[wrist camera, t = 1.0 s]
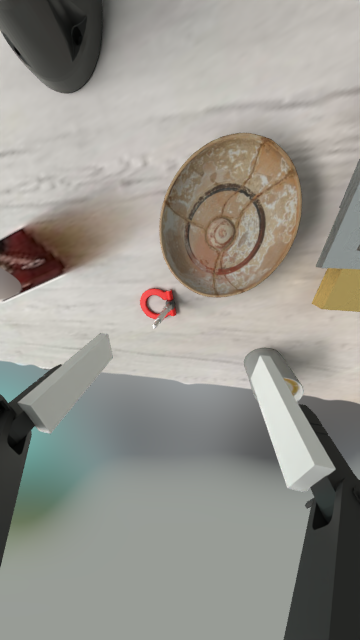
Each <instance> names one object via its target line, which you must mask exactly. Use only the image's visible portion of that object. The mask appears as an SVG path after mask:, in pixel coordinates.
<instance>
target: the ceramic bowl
mask: <svg viewBox="0 0 360 640" xmlns="http://www.w3.org/2000/svg"><path fill="white" fill-rule="evenodd" d="M301 209H302V194H301V186H300V181H299V177H298V174H297V171H296V168H295V166H294V164H293V162H292V160H291V159H290V157H289V156H288V155H287V153H286V152H285V151H284V150H283V149H282V148H281V147H280V146H279V145H278V144H276V143H275V142H274V141H273V140H271V139H269V138H266V137H263V136H260V135H256V134H252V133H236V134H231V135H227V136H223V137H221V138H218V139H216V140H213V141H211V142H210V143H208V144H206V145H205V146H203V147H202V148H200V149H199V150H198V151H196V152H195V153H194V154H193V155H192V156H191V157H190V158H189V159H188V160H187V161H186V162H185V163H184V164H183V165H182V167H181V168H180V169H179V171H178V172H177V174H176V175H175V177H174V179H173V181H172V182H171V184H170V186H169V188H168V190H167V193H166V195H165V198H164V202H163V205H162V210H161V215H160V225H159V233H160V244H161V249H162V253H163V256H164V259H165V261H166V263H167V265H168V267H169V269H170V271H171V272H172V274H173V275H174V276H175V277H176V279H177V280H178V281H179V282H180V283H182V284H183V285H184V286H185V287H187V288H188V289H190V290H192V291H193V292H195V293H197V294H200V295H203V296H207V297H227V296H232V295H237V294H240V293H243V292H245V291H248V290H250V289H252V288H253V287H255V286H257V285H258V284H260V283H261V282H262V281H264V280H265V279H266V278H267V277H268V276H270V274H271V273H273V271H274V270H275V269H276V268H277V267H278V266H279V265H280V263H281V262H282V261H283V259H284V258H285V256H286V255H287V253H288V251H289V249H290V248H291V246H292V244H293V241H294V239H295V237H296V234H297V231H298V227H299V223H300V219H301Z"/></svg>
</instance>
